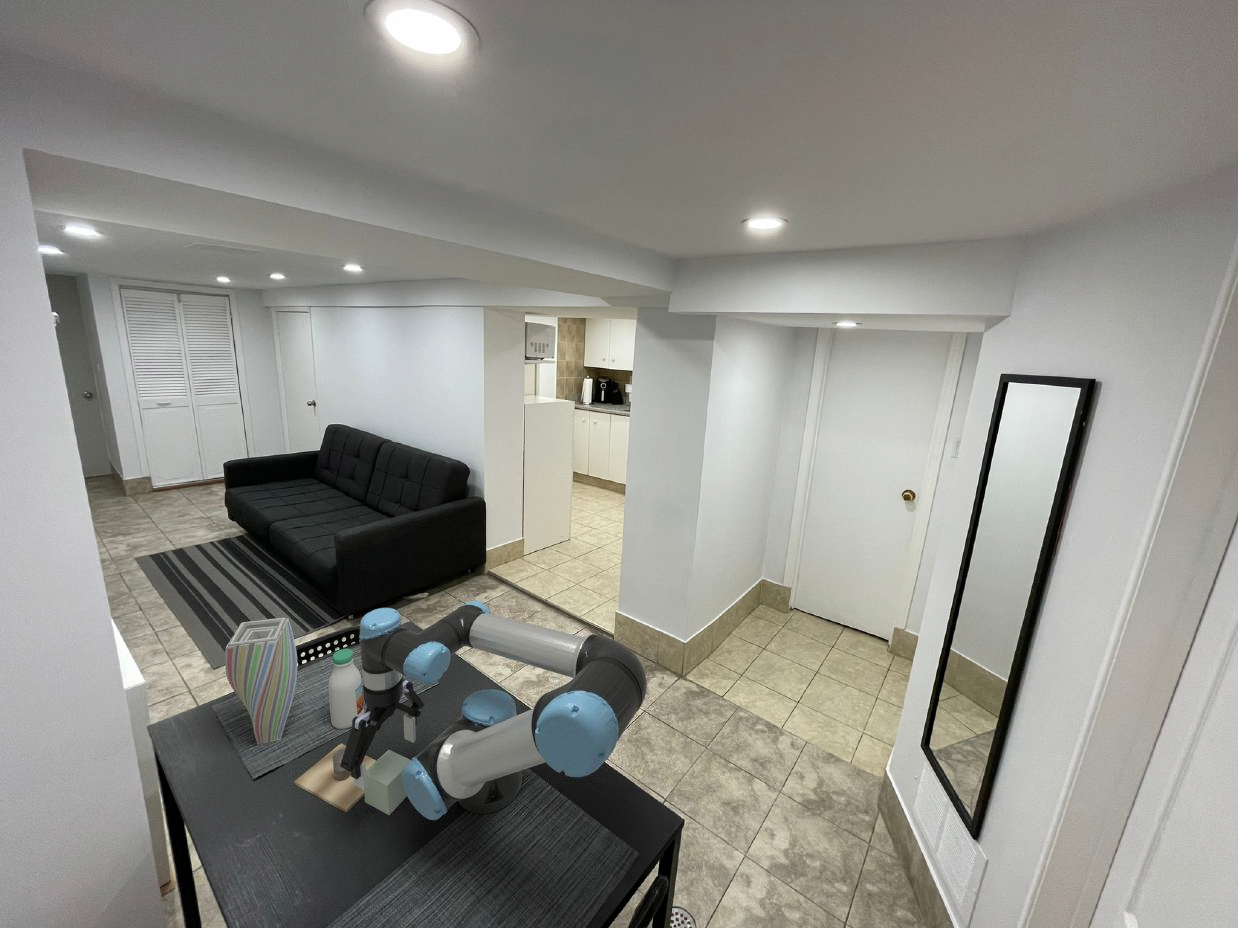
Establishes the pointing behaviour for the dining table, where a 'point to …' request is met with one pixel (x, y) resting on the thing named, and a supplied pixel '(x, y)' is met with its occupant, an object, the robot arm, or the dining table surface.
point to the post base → (333, 780)
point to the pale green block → (386, 782)
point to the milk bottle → (345, 690)
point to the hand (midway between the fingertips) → (386, 761)
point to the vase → (264, 673)
